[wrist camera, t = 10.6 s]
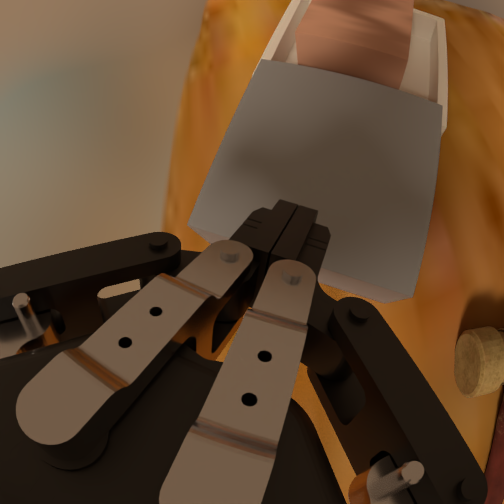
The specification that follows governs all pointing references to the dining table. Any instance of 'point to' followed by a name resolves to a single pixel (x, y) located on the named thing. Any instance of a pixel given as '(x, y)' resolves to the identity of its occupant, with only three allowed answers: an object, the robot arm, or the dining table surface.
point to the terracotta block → (357, 38)
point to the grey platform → (332, 171)
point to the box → (419, 61)
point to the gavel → (484, 391)
